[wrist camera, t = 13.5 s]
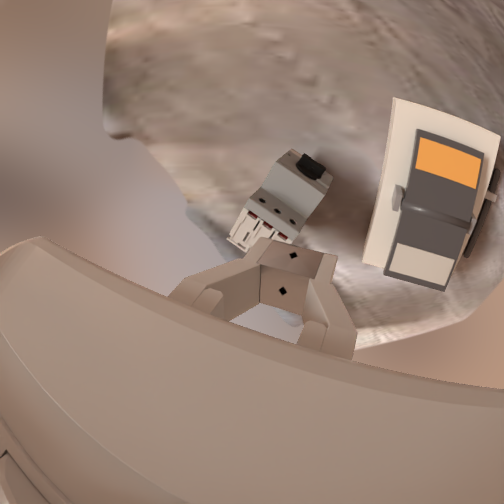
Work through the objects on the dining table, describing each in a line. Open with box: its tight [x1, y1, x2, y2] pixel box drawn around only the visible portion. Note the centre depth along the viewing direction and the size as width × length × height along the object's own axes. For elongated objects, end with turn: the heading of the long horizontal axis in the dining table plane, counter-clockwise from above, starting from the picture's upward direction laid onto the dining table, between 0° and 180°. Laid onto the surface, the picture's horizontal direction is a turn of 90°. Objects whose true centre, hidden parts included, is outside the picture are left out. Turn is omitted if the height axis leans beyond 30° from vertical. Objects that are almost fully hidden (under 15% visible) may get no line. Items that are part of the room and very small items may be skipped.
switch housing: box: [362, 97, 501, 278], centre depth 33 cm, size 26×16×10 cm, turn 0°
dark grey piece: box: [462, 160, 500, 258], centre depth 32 cm, size 19×3×2 cm, turn 0°
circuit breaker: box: [227, 149, 333, 252], centre depth 40 cm, size 8×14×15 cm, turn 154°
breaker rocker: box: [383, 129, 484, 292], centre depth 29 cm, size 20×10×2 cm, turn 0°
